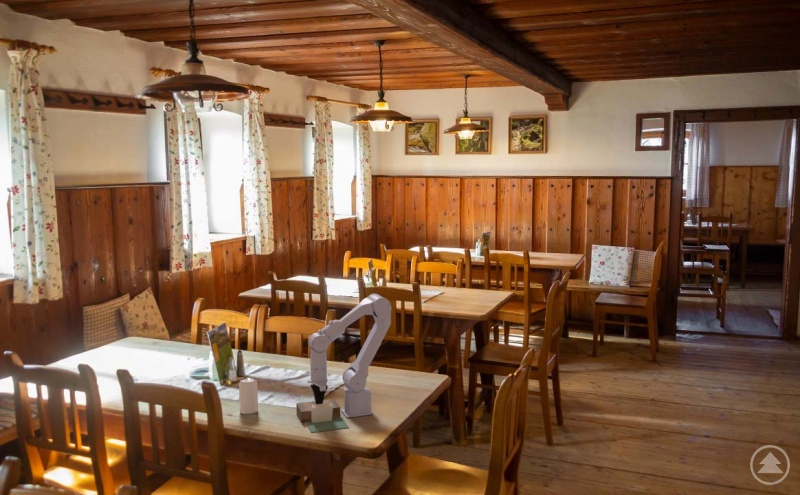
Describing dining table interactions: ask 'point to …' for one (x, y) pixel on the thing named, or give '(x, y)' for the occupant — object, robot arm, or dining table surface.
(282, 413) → the dining table surface
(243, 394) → the can
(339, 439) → the dining table surface
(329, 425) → the mat
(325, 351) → the robot arm
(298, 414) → the riser
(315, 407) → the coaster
